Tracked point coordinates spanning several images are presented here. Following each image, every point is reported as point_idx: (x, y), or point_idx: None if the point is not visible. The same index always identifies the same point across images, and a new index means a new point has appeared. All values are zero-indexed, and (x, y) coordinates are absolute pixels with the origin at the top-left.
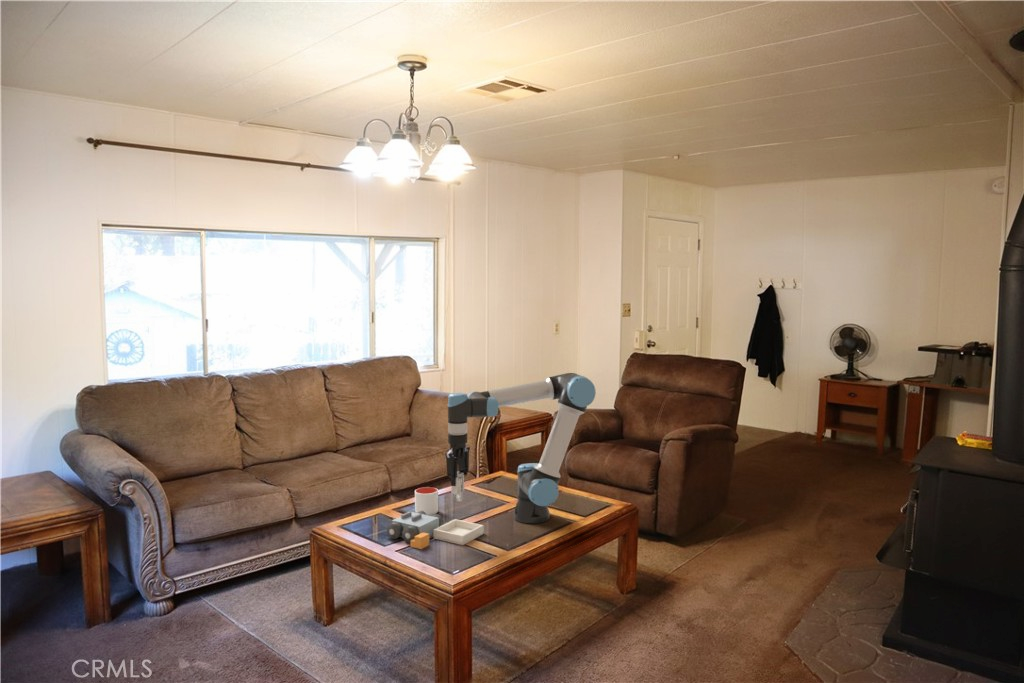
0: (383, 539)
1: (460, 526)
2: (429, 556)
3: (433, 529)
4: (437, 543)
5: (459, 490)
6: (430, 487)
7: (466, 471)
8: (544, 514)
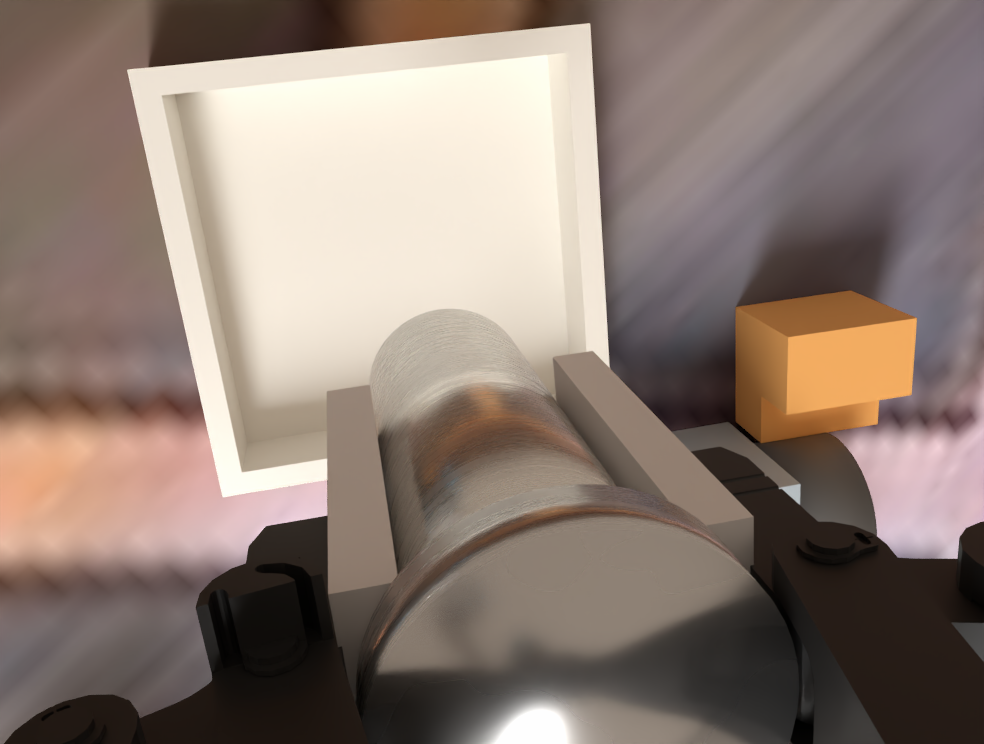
0: None
1: (232, 383)
2: (945, 102)
3: None
4: (668, 274)
5: (524, 381)
6: None
7: (130, 710)
8: None
